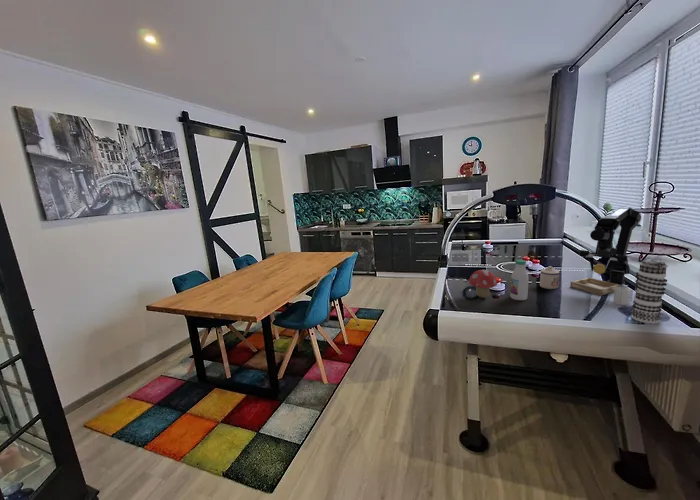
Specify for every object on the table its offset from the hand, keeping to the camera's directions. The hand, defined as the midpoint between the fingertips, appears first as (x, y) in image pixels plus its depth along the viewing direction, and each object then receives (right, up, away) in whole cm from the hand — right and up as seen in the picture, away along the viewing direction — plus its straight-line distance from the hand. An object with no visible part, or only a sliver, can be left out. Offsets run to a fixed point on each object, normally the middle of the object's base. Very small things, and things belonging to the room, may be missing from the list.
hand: (598, 272), depth 151 cm
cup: (0, -14, -12) cm, 18 cm away
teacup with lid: (-15, -9, +15) cm, 23 cm away
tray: (+4, -10, +7) cm, 12 cm away
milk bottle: (-40, -14, +1) cm, 43 cm away
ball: (0, +2, 0) cm, 2 cm away
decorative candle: (-5, -18, -28) cm, 34 cm away
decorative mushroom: (-58, -14, +5) cm, 59 cm away
